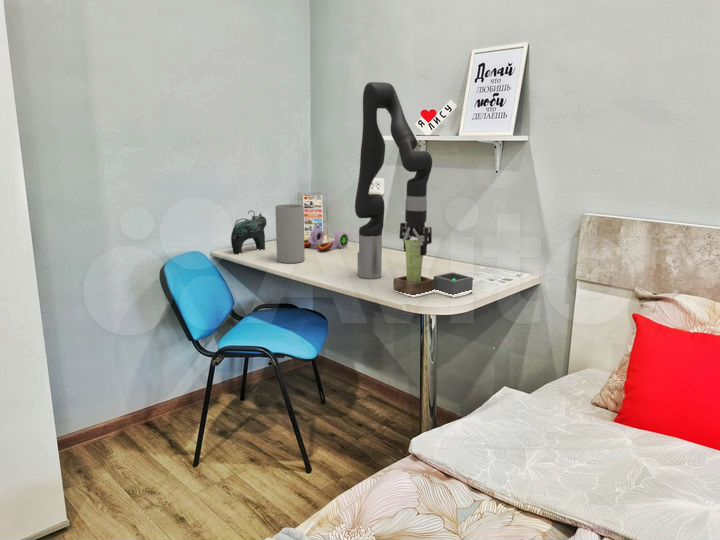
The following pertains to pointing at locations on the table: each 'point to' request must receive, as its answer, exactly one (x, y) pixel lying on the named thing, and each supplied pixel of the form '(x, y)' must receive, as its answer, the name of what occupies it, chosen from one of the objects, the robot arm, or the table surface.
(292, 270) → the table surface
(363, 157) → the robot arm
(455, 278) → the socket block
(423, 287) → the brown wooden square frame
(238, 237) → the ceramic cat
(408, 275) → the tube
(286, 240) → the cylinder vase
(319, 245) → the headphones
